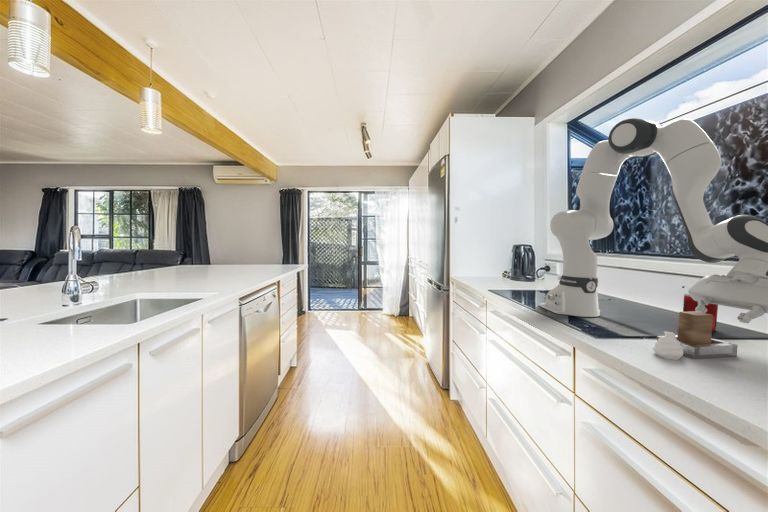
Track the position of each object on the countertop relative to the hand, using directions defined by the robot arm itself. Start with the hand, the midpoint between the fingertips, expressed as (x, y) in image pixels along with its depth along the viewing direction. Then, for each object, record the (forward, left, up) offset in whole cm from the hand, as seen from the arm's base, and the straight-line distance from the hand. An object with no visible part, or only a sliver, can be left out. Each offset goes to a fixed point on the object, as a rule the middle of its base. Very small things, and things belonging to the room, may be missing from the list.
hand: (719, 316), depth 84 cm
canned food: (-18, +19, -9) cm, 28 cm away
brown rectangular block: (0, -7, -8) cm, 11 cm away
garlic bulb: (+2, -18, -9) cm, 20 cm away
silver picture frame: (0, -7, -9) cm, 11 cm away
